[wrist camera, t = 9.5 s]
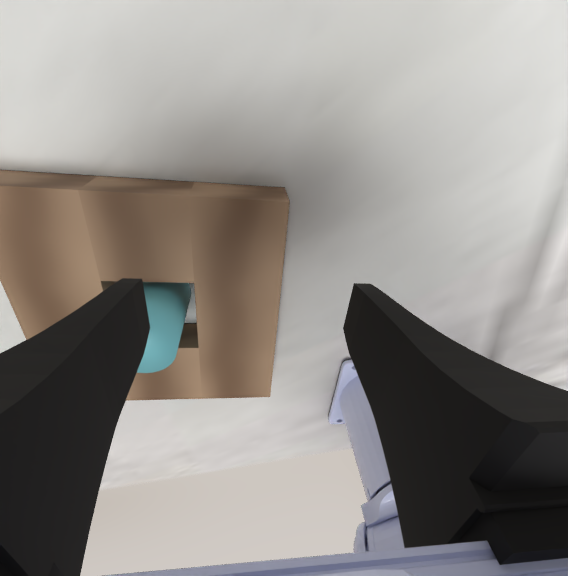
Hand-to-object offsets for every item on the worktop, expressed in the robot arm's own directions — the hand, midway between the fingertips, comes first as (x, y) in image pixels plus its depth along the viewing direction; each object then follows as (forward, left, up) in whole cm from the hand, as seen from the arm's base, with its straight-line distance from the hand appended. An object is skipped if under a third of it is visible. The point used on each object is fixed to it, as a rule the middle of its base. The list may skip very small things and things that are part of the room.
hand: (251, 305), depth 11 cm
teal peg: (+6, +6, -9) cm, 12 cm away
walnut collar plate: (+6, +6, -9) cm, 12 cm away
